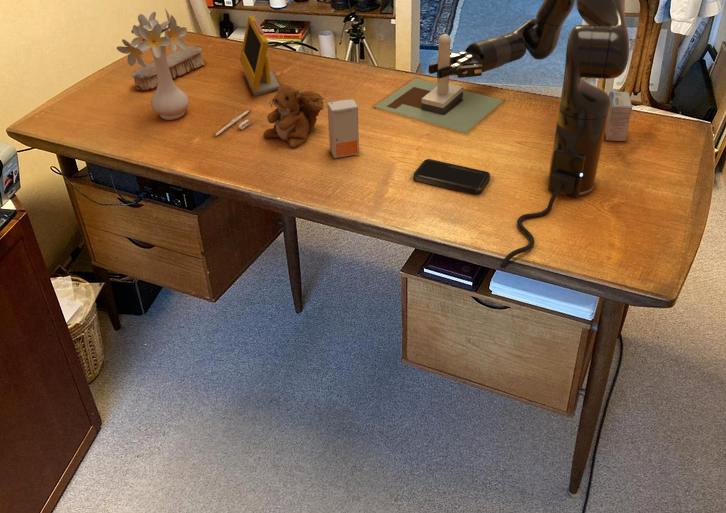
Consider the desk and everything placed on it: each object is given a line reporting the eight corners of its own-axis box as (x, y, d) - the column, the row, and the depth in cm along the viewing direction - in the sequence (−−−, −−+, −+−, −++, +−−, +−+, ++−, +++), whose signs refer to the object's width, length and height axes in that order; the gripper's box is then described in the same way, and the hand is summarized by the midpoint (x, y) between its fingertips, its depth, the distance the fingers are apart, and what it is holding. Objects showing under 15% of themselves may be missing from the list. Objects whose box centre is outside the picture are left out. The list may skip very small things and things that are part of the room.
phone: (479, 191, 144) (411, 175, 149) (478, 195, 144) (411, 179, 150) (491, 172, 149) (426, 157, 155) (491, 176, 150) (426, 162, 155)
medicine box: (625, 142, 160) (633, 107, 154) (605, 140, 160) (612, 106, 155) (622, 125, 166) (629, 91, 160) (602, 124, 166) (609, 90, 161)
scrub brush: (442, 115, 172) (445, 44, 161) (421, 109, 175) (422, 40, 164) (462, 97, 180) (466, 29, 169) (441, 92, 182) (444, 24, 171)
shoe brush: (192, 57, 207) (188, 41, 204) (210, 62, 203) (207, 46, 200) (129, 88, 191) (124, 71, 188) (148, 94, 188) (143, 77, 185)
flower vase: (131, 130, 172) (104, 29, 157) (167, 97, 186) (145, 2, 171) (179, 135, 169) (156, 34, 154) (212, 102, 183) (194, 5, 168)
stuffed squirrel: (260, 138, 167) (253, 86, 159) (304, 117, 175) (300, 66, 166) (287, 152, 161) (281, 99, 153) (332, 130, 169) (329, 78, 161)
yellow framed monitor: (241, 72, 198) (233, 16, 188) (268, 67, 199) (262, 12, 189) (254, 101, 182) (246, 42, 173) (284, 96, 184) (277, 37, 174)
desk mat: (465, 133, 165) (465, 132, 165) (374, 107, 177) (374, 106, 177) (503, 101, 178) (503, 100, 178) (415, 78, 190) (415, 77, 190)
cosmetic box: (334, 159, 158) (330, 110, 151) (329, 150, 161) (326, 102, 154) (360, 154, 159) (358, 106, 152) (355, 146, 162) (353, 98, 155)
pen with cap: (247, 111, 178) (246, 104, 177) (262, 114, 176) (261, 107, 175) (214, 136, 168) (213, 128, 167) (229, 140, 167) (228, 132, 165)
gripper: (471, 31, 180) (416, 48, 173) (508, 48, 170) (452, 66, 163) (469, 59, 184) (416, 76, 177) (506, 77, 175) (451, 96, 168)
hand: (433, 71), depth 170 cm, fingers closed on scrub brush, 3 cm apart
